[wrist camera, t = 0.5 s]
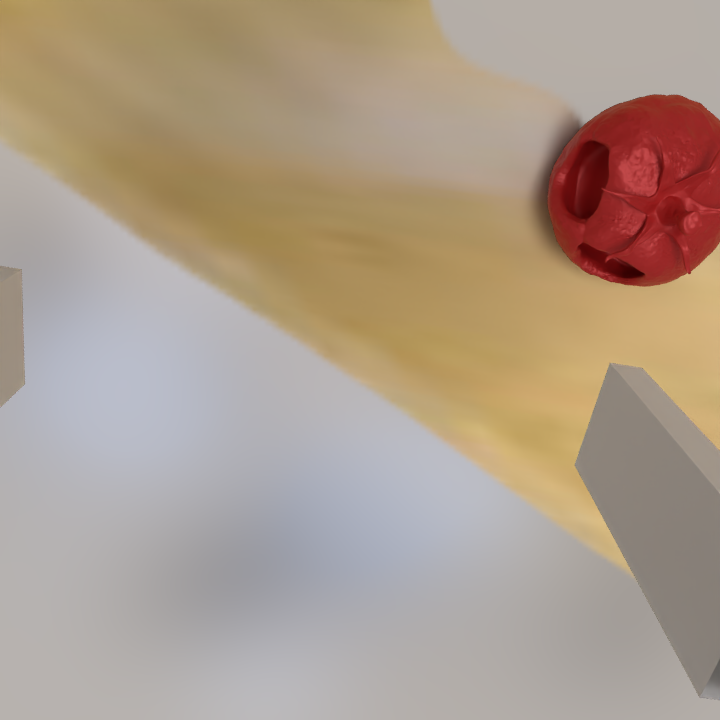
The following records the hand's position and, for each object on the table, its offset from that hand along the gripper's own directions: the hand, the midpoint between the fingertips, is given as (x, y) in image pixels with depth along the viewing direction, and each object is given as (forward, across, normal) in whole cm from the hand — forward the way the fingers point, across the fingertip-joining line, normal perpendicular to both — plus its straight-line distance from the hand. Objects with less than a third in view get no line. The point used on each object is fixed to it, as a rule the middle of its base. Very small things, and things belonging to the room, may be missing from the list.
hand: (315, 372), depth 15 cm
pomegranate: (+27, +16, +3) cm, 31 cm away
